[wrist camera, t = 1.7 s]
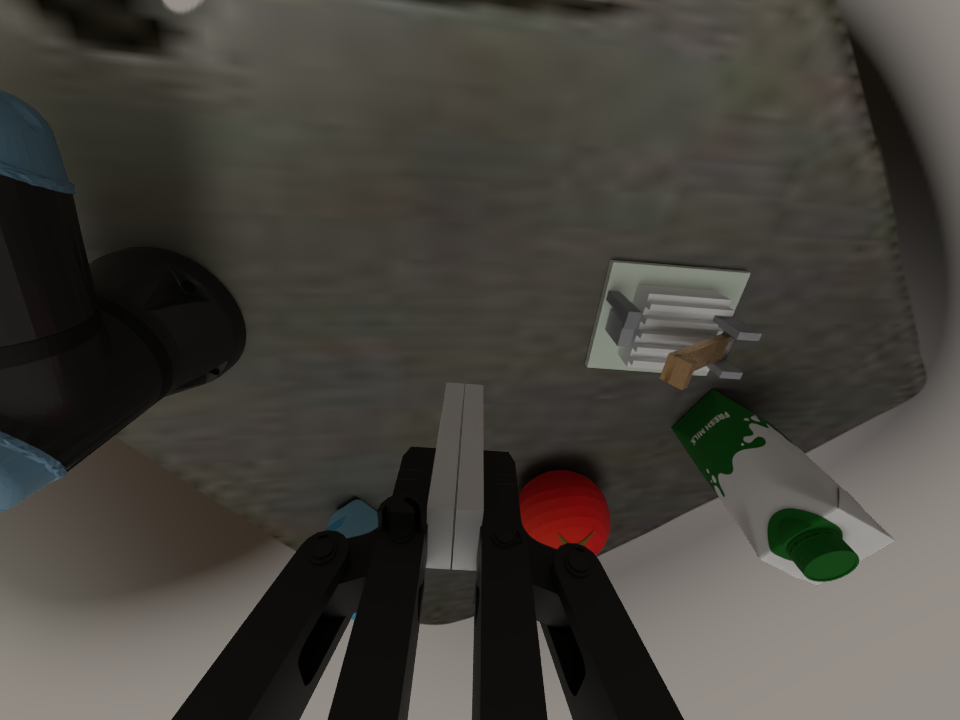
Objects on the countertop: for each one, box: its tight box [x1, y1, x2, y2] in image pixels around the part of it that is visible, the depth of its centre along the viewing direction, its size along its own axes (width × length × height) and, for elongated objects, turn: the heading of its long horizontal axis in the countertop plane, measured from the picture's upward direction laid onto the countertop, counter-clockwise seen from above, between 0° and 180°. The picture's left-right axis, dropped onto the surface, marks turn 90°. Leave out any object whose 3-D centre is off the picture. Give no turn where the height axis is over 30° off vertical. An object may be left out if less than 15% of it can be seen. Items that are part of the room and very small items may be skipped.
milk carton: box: [672, 389, 895, 586], centre depth 38 cm, size 9×9×20 cm
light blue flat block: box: [326, 499, 378, 620], centre depth 51 cm, size 12×4×12 cm, turn 39°
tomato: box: [519, 470, 610, 556], centre depth 48 cm, size 11×12×10 cm
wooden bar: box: [659, 330, 735, 390], centre depth 33 cm, size 11×3×2 cm
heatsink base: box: [585, 260, 762, 379], centre depth 37 cm, size 14×12×8 cm
